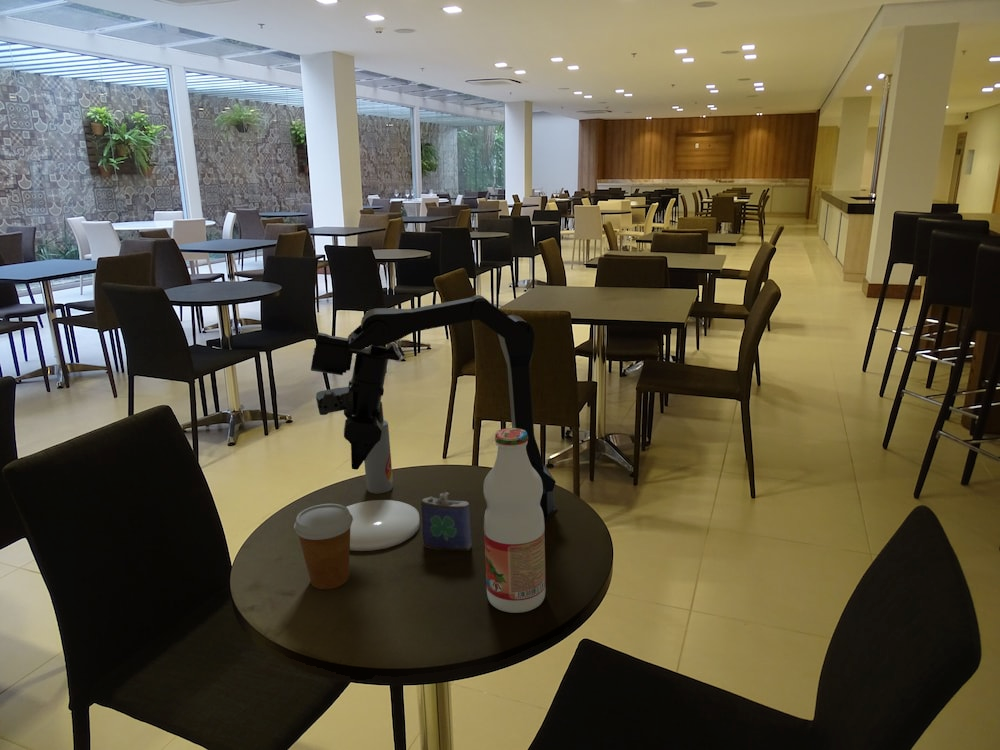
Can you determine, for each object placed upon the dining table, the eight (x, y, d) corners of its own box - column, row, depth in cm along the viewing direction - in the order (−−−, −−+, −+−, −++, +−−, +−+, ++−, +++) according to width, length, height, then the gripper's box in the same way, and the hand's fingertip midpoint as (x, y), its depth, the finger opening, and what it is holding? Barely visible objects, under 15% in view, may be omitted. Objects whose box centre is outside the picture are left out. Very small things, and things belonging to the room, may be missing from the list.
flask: (473, 545, 131) (470, 491, 128) (468, 553, 128) (465, 498, 125) (426, 540, 133) (422, 487, 131) (420, 548, 131) (416, 494, 128)
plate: (437, 517, 142) (437, 510, 142) (381, 559, 127) (380, 551, 127) (366, 500, 151) (365, 493, 150) (305, 538, 136) (304, 531, 135)
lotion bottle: (395, 483, 159) (389, 397, 153) (389, 494, 153) (382, 405, 148) (370, 483, 159) (363, 397, 154) (363, 494, 154) (355, 405, 148)
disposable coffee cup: (308, 601, 115) (300, 534, 112) (295, 573, 123) (287, 510, 120) (365, 584, 119) (359, 519, 116) (349, 559, 128) (343, 497, 124)
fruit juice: (540, 617, 109) (537, 445, 101) (480, 611, 111) (472, 442, 103) (549, 583, 118) (547, 423, 110) (494, 578, 120) (488, 421, 112)
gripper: (324, 359, 135) (311, 436, 139) (321, 386, 118) (307, 474, 121) (382, 368, 138) (369, 443, 142) (388, 396, 121) (372, 481, 124)
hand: (354, 459), depth 132 cm, fingers open, 9 cm apart
